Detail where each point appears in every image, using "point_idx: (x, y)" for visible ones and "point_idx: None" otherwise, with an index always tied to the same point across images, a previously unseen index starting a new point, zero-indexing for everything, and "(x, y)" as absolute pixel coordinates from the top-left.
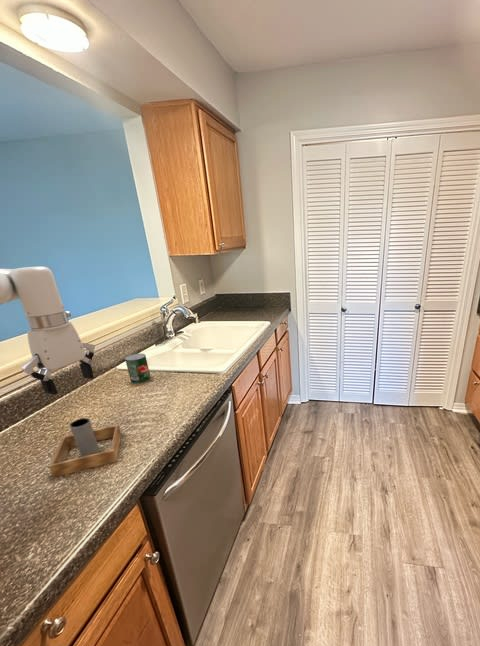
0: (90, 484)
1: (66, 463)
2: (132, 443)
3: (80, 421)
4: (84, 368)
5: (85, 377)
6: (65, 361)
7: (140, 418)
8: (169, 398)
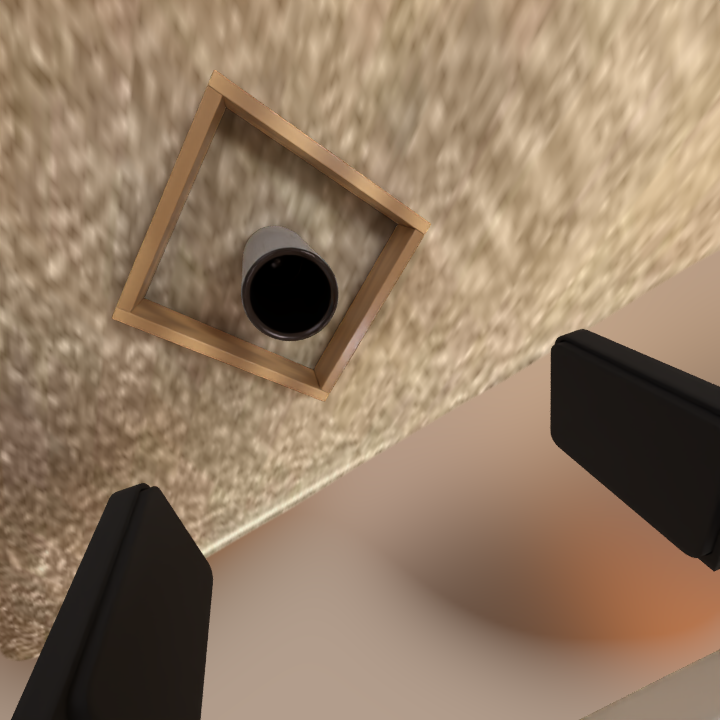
0: (217, 430)
1: (176, 342)
2: (396, 323)
3: (303, 258)
4: (662, 474)
5: (554, 372)
6: None
7: (519, 164)
8: (683, 105)
